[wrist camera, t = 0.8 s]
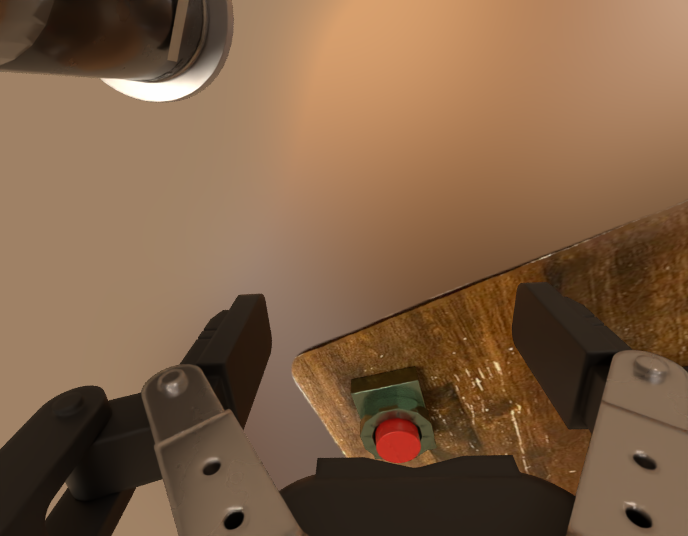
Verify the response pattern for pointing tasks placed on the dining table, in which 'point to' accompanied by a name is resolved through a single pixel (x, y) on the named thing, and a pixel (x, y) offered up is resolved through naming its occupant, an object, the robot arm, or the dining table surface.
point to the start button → (397, 440)
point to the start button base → (391, 405)
